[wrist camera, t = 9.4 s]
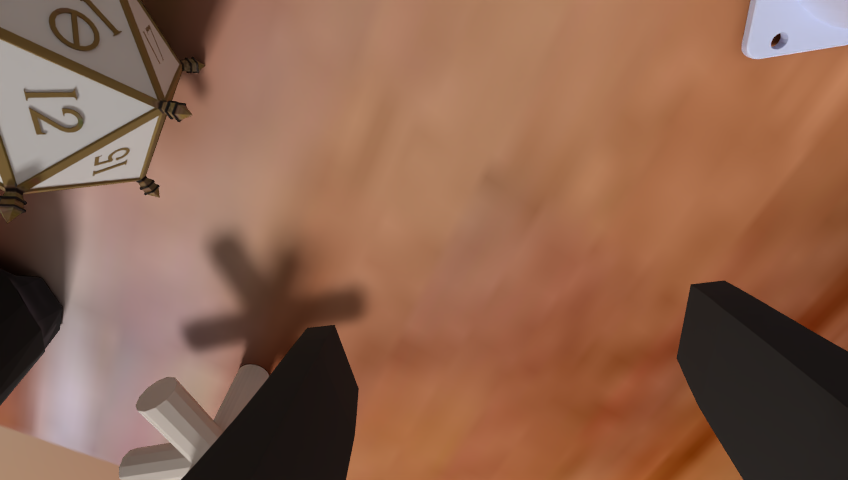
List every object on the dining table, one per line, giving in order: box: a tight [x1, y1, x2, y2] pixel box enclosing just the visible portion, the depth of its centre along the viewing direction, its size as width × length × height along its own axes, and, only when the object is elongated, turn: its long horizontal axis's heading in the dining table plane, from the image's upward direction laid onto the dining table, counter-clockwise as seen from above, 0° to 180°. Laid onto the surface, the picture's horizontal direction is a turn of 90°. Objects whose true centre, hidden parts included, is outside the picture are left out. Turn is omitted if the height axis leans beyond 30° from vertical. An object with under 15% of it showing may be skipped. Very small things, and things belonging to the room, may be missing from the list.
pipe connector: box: [119, 364, 269, 480], centre depth 22 cm, size 10×10×10 cm
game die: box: [0, 0, 205, 224], centre depth 13 cm, size 9×8×10 cm
